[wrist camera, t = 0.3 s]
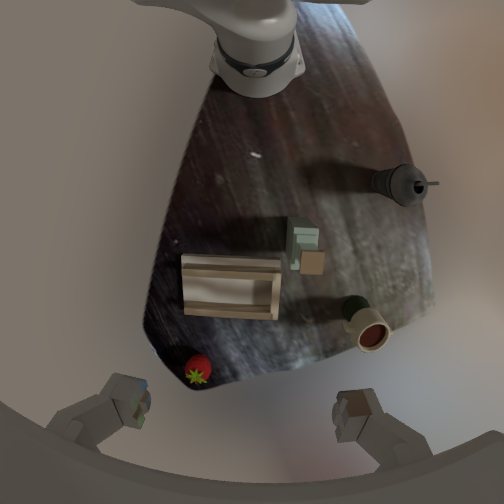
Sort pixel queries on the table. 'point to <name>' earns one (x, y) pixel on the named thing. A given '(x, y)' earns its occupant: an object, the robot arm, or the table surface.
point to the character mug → (365, 325)
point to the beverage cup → (402, 184)
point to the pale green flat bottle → (304, 246)
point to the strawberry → (198, 368)
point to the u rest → (231, 286)
